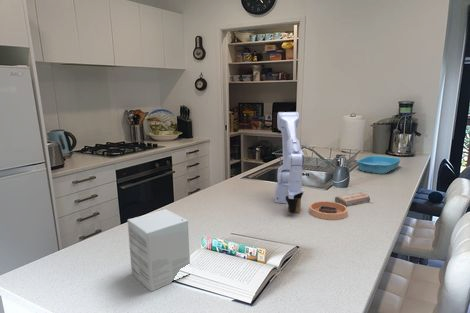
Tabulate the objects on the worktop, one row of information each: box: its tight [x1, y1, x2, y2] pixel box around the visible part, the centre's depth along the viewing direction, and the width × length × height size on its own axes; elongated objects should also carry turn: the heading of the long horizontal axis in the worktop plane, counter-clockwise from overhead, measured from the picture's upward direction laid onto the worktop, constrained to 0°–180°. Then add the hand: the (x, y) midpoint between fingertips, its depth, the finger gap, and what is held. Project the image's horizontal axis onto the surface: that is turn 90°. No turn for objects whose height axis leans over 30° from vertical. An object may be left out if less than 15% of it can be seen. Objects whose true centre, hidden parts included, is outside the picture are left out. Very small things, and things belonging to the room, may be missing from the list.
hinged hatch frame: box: [319, 206, 337, 213], centre depth 141 cm, size 7×5×2 cm, turn 66°
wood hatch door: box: [287, 198, 302, 214], centre depth 143 cm, size 5×2×7 cm, turn 66°
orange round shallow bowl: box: [308, 200, 349, 221], centre depth 141 cm, size 16×16×4 cm
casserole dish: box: [356, 154, 402, 175], centre depth 222 cm, size 37×22×7 cm, turn 137°
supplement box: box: [127, 208, 191, 292], centre depth 96 cm, size 13×13×18 cm
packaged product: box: [329, 192, 374, 207], centre depth 155 cm, size 18×5×10 cm
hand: (294, 209), depth 143 cm, fingers open, 7 cm apart
